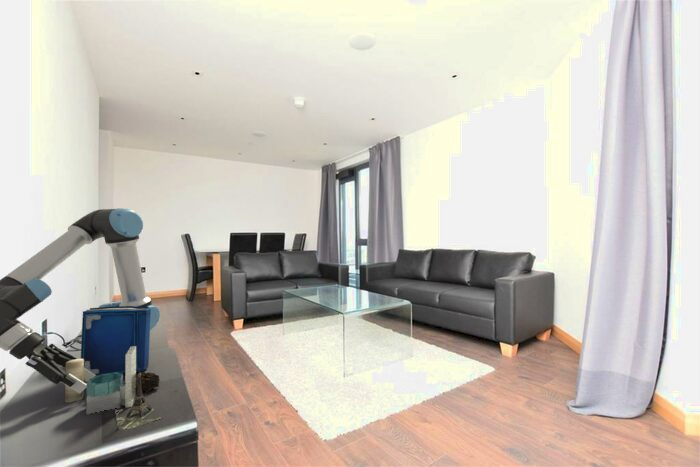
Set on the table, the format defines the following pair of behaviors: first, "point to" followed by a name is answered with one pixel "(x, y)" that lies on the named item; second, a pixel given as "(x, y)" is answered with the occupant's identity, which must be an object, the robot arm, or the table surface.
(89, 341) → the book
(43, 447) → the table surface
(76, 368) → the beige wooden block
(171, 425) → the table surface
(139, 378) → the eiffel tower figurine
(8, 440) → the table surface
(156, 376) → the dark brown rounded block
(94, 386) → the bracket
